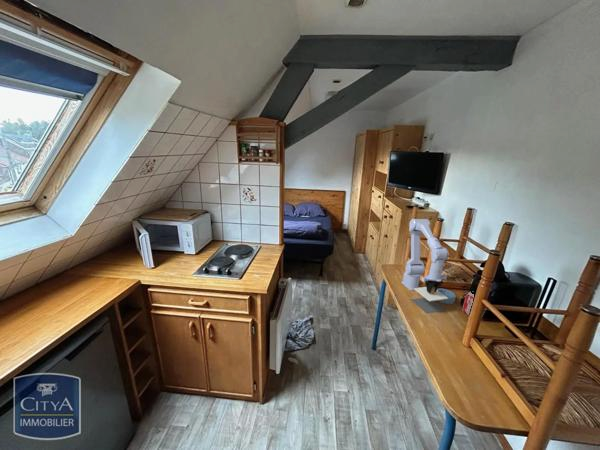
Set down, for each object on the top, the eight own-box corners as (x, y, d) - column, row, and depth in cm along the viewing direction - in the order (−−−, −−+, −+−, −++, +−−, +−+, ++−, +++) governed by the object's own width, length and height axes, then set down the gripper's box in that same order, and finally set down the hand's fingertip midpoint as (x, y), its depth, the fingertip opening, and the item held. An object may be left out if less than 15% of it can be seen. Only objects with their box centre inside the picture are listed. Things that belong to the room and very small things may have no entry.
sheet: (414, 289, 139) (415, 282, 138) (431, 286, 142) (433, 280, 141) (429, 301, 128) (431, 294, 127) (448, 298, 131) (450, 291, 130)
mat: (410, 299, 142) (410, 299, 141) (429, 297, 145) (429, 296, 145) (426, 314, 130) (426, 313, 129) (446, 311, 133) (446, 310, 133)
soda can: (479, 319, 127) (485, 299, 124) (464, 316, 129) (470, 297, 125) (473, 310, 134) (479, 291, 130) (459, 308, 135) (464, 289, 132)
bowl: (430, 295, 147) (432, 289, 146) (444, 293, 149) (445, 287, 148) (443, 305, 138) (445, 299, 136) (458, 303, 140) (459, 297, 139)
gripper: (430, 274, 125) (425, 297, 129) (453, 271, 129) (447, 294, 133) (420, 268, 131) (416, 289, 136) (442, 265, 135) (437, 287, 139)
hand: (431, 291), depth 135 cm, fingers closed on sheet, 3 cm apart
